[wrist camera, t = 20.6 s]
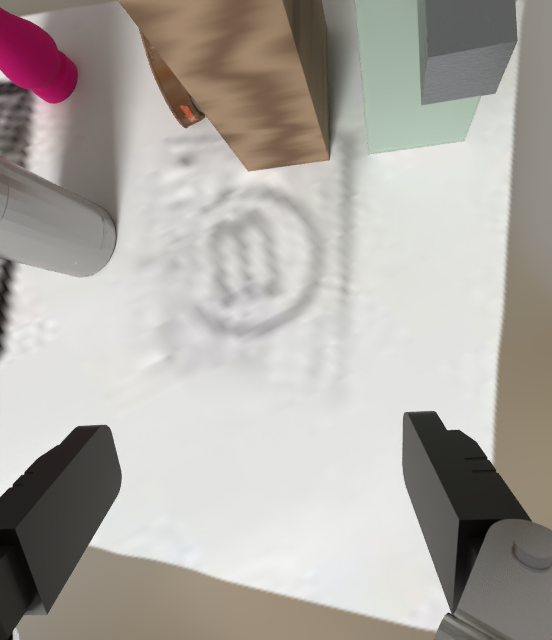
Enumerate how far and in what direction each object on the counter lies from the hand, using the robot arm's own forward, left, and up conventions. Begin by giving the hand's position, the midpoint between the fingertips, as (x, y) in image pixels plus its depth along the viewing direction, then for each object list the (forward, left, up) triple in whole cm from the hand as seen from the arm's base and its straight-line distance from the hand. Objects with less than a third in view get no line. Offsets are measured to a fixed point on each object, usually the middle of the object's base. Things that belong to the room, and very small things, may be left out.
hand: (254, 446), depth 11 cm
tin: (-18, +35, -30) cm, 49 cm away
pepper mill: (-37, +39, -30) cm, 61 cm away
